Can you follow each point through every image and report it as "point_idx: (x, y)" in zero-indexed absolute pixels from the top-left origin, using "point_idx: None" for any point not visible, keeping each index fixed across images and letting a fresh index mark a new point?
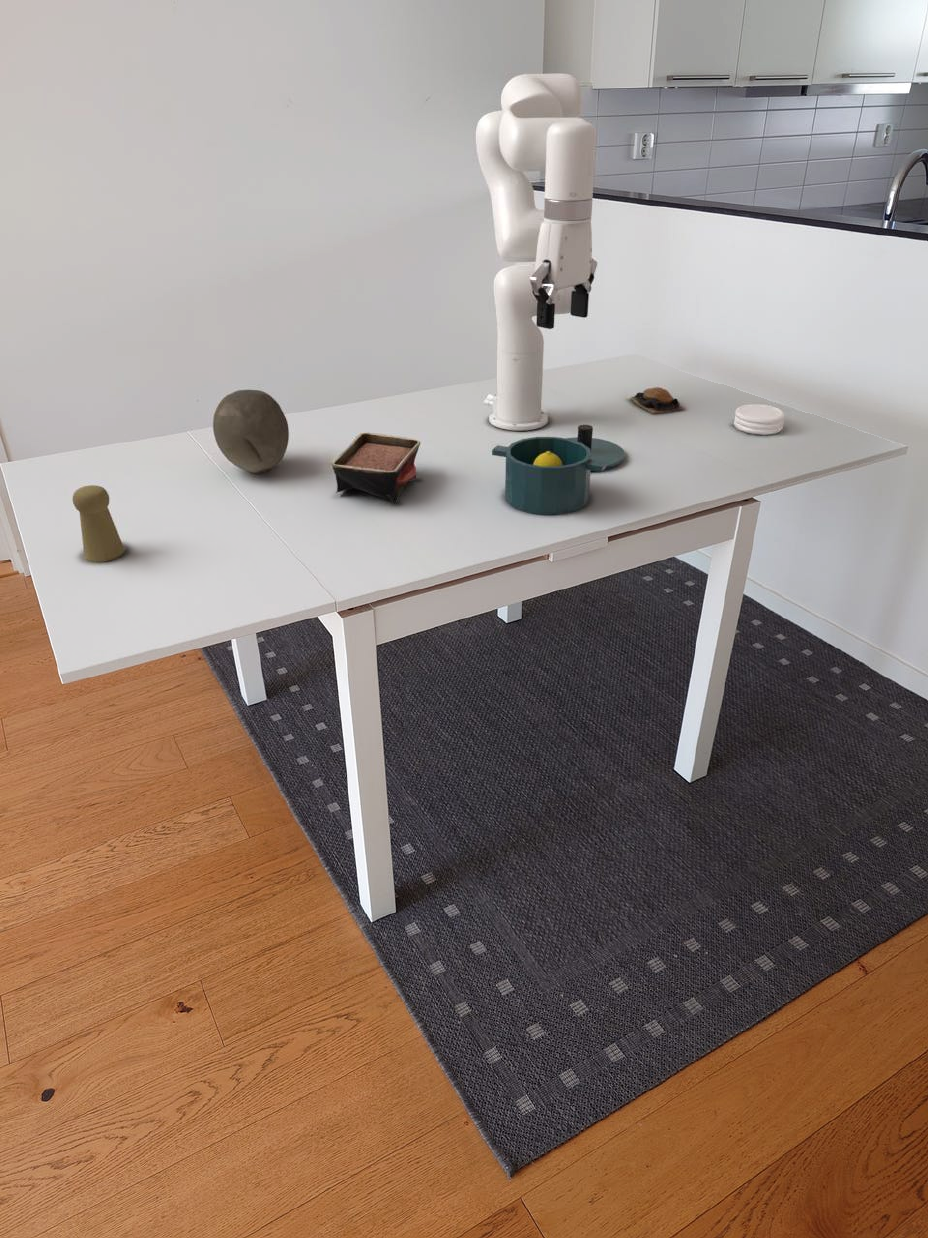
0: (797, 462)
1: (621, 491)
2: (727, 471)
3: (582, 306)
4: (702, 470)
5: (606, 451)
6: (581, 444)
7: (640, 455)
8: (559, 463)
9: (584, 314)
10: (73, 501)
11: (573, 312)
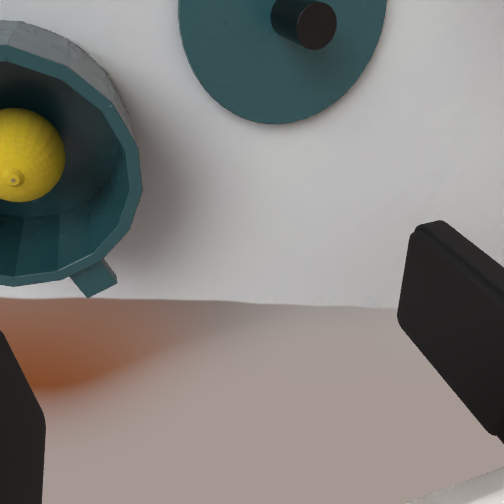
0: None
1: (186, 209)
2: (384, 254)
3: (438, 351)
4: (366, 229)
5: (324, 59)
6: (133, 196)
7: (369, 106)
8: (33, 199)
9: (406, 330)
10: None
11: (417, 261)
